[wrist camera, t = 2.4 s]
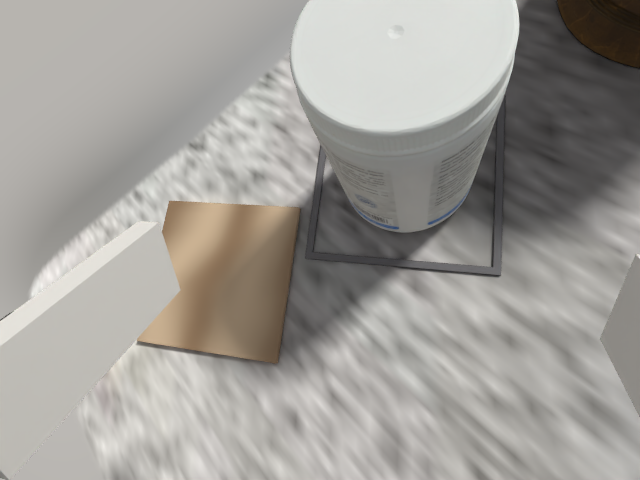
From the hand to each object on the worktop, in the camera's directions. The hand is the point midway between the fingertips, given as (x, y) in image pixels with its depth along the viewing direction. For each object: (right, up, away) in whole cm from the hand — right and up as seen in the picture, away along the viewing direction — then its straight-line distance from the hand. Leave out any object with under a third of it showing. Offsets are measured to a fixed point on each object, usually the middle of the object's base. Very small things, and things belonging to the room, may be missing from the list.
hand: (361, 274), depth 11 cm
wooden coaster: (-9, -2, +20) cm, 22 cm away
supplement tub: (+5, +6, +18) cm, 20 cm away
